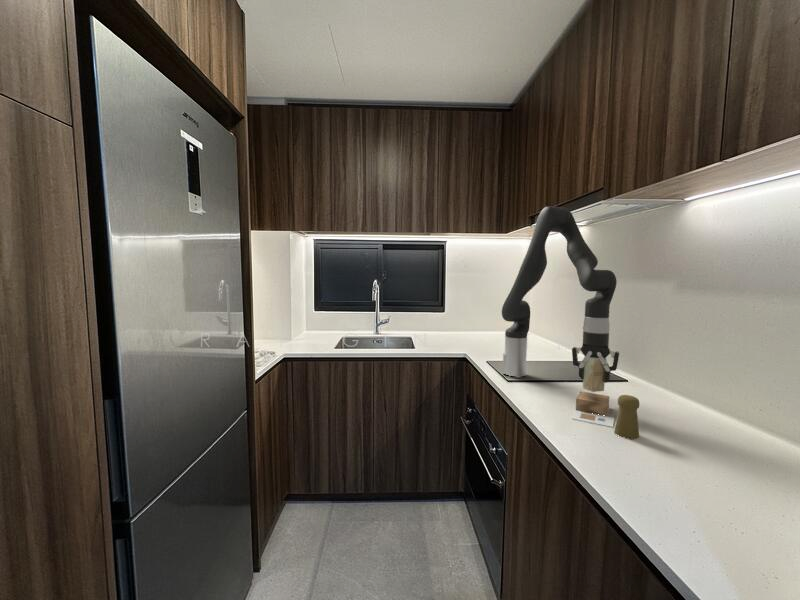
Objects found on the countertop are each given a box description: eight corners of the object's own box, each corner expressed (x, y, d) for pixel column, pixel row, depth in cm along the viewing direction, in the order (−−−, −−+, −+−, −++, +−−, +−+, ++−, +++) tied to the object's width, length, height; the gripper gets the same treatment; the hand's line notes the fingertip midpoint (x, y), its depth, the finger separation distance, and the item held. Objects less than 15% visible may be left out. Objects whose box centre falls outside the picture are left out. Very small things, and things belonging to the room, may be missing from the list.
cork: (616, 427, 105) (618, 391, 104) (640, 433, 102) (642, 395, 101) (612, 434, 101) (614, 396, 100) (638, 441, 97) (640, 401, 96)
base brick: (575, 410, 119) (576, 398, 118) (579, 402, 126) (579, 391, 126) (607, 416, 114) (607, 404, 113) (608, 407, 121) (609, 396, 121)
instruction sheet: (571, 418, 112) (571, 418, 112) (575, 410, 118) (575, 409, 118) (612, 427, 106) (612, 426, 105) (614, 418, 112) (614, 417, 112)
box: (591, 392, 117) (593, 358, 116) (581, 388, 121) (583, 355, 120) (605, 391, 118) (606, 357, 117) (594, 387, 122) (596, 355, 121)
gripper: (622, 331, 117) (619, 381, 118) (573, 327, 125) (571, 374, 126) (621, 334, 111) (618, 387, 112) (570, 330, 119) (568, 379, 120)
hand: (593, 380), depth 119 cm, fingers closed on box, 6 cm apart
